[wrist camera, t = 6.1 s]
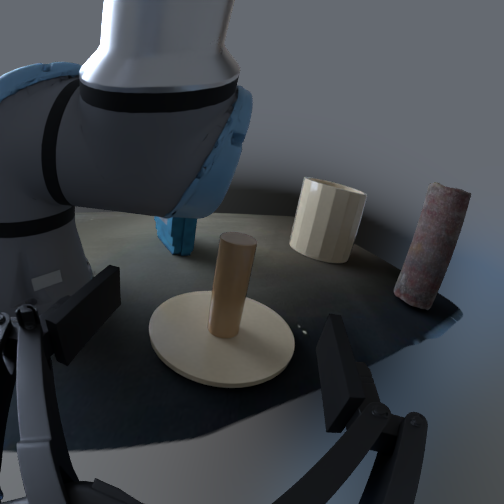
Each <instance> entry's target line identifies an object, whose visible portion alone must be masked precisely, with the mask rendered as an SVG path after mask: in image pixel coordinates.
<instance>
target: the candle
mask: <svg viewBox="0 0 504 504" xmlns="http://www.w3.org/2000/svg"><path fill="white" fill-rule="evenodd" d="M470 197H471V193H468V192H466V191H463V190H461V189H455V188H449V187H445V186H443V185H440V184H439V183H436V182H434V183H432V184H431V183H430V184H429V187H428V190H427V194H426V198H425V201H424V205H423V208H422V211H421V215H420V218H419V222H418V224H417V228H416V231H415V234H414V237H413V240H412V243H411V246H410V248H409V251H408V254H407V257H406V259H405V262H404V264H403V267H402V270H401V272H400V275H399V277H398V280H397V282H396V285H395V287H394V294H395V295H396V297H398V298H400V299H401V300H403V301H404V302H406V303H407V304H409V305H411V306H414V307H417V308H421V309H426V310H429V309H430V307H431V306H432V303H433V301H434V299H435V297H436V295H437V293H438V290H439V288H440V286H441V283H442V281H443V278H444V276H445V273H446V271H447V268H448V265H449V263H450V260H451V257H452V255H453V251H454V249H455V246H456V243H457V240H458V237H459V234H460V231H461V228H462V225H463V222H464V218H465V215H466V211H467V208H468V204H469V200H470Z"/></svg>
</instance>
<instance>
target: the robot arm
mask: <svg viewBox="0 0 504 504" xmlns="http://www.w3.org/2000/svg"><path fill="white" fill-rule="evenodd" d="M234 1H235V0H104V7H103V18H102V30H101V44H100V46H99V48H98V50H97V51H96V52H95V53H94V54H93V55H92V56H91V57H90V58H89V59H88V60H87V62H86V63H85V64H84V65H83V66H82V65H79V64H75V63H68V62H53V63H50V64H42V63H40V64H33V65H28V66H24V67H21V68H18V69H15V70H12V71H10V72H8V73H6V74H4V75H2V76H0V471H1V463H2V453H3V444H4V436H5V429H6V423H7V418H8V412H9V407H10V402H11V398H12V394H13V389H14V385H15V381H16V378H17V408H18V421H19V430H20V442H17V454H18V460H19V466H20V471H21V476H22V480H23V485H24V489H25V493H26V497H22V498H19V499H15V500H11V501H7V502H3V503H1V500H2V499H3V492H2V491H1V488H0V504H143V503H141V502H139V501H138V500H136V499H134V498H133V497H131V496H130V495H128V494H126V493H125V492H124V491H122V490H121V489H119V488H116V487H114V486H112V485H110V484H107V483H105V482H103V481H101V480H99V479H96V478H95V480H94V482H88V481H79V479H78V477H77V475H76V473H75V471H74V469H73V467H72V463H71V460H70V456H69V453H68V449H67V445H66V442H65V438H64V433H63V429H62V424H61V420H60V415H59V409H58V404H57V398H56V391H55V384H54V377H53V368H52V360H51V356H52V355H53V353H54V354H55V357H56V360H57V361H58V362H60V363H62V364H64V365H66V366H68V365H69V364H70V362H71V361H72V360H73V359H74V358H75V356H76V355H77V354H78V353H79V352H80V350H81V349H82V348H83V347H84V346H85V344H86V343H87V342H88V341H89V340H90V339H91V337H92V336H93V335H94V334H95V333H96V332H97V330H98V329H99V328H100V327H101V326H102V325H103V324H104V322H105V321H106V320H107V319H108V318H109V317H110V316H111V315H112V313H113V312H114V311H115V310H116V309H117V308H118V307H119V306H120V305H121V298H120V267H116V266H112V265H109V266H108V267H106V268H105V269H104V270H103V271H101V272H100V273H99V274H98V275H96V276H95V277H94V278H93V275H92V270H91V266H90V264H89V262H88V260H87V258H86V257H85V254H84V251H83V248H82V244H81V241H80V238H79V235H78V232H77V228H76V225H75V206H78V207H87V208H95V209H104V210H112V211H119V212H127V213H135V214H142V215H150V216H157V217H162V218H166V219H168V218H171V217H180V218H196V219H199V218H204V217H207V216H209V215H210V214H212V213H213V212H214V211H215V210H216V209H217V208H218V206H219V205H220V204H221V202H222V200H223V199H224V197H225V195H226V192H227V190H228V188H229V186H230V183H231V181H232V178H233V175H234V173H235V170H236V167H237V165H238V162H239V158H240V155H241V152H242V142H243V141H244V139H245V135H246V133H247V130H248V127H249V123H250V118H251V113H252V95H251V93H250V92H249V91H248V90H245V89H244V88H243V87H242V86H237V82H238V77H239V73H240V67H239V65H238V63H237V62H236V60H235V59H234V58H233V57H232V55H231V54H230V53H229V51H228V50H227V49H226V48H225V45H224V41H225V37H226V33H227V29H228V25H229V21H230V17H231V13H232V9H233V5H234ZM316 354H317V361H318V369H319V376H320V383H321V391H322V399H323V407H324V416H325V424H326V432H332V433H341V432H342V431H343V429H344V428H345V427H346V429H347V431H346V432H345V433H344V435H343V436H342V437H341V438H340V439H339V440H338V441H337V442H336V443H335V445H334V446H333V447H332V448H331V449H330V450H329V451H328V452H327V453H326V454H325V455H324V456H323V457H322V458H321V459H320V460H319V461H318V462H317V463H316V464H315V465H314V466H313V467H312V468H311V469H310V470H309V471H308V472H307V473H306V474H305V475H304V476H303V477H302V478H301V479H300V480H299V481H298V482H297V483H295V484H294V485H293V486H292V487H291V488H290V489H289V490H288V491H286V492H285V493H284V494H283V495H282V496H281V497H279V498H278V499H277V500H276V501H275V502H273V503H272V504H326V502H327V501H328V500H329V499H330V498H331V497H332V496H333V495H334V494H335V493H336V491H337V490H338V489H339V488H340V487H341V485H342V484H343V483H344V482H345V481H346V480H347V478H348V477H349V476H350V475H351V473H352V472H353V471H354V470H355V468H356V467H357V466H358V465H359V463H360V462H361V461H362V459H363V458H364V457H365V455H366V454H367V453H368V451H369V450H373V451H377V452H378V453H377V456H376V459H375V462H374V465H373V468H372V471H371V473H370V476H369V479H368V482H367V484H366V487H365V489H364V492H363V494H362V497H361V499H360V502H359V504H414V500H415V496H416V492H417V488H418V483H419V479H420V474H421V469H422V463H423V457H424V451H425V444H426V436H427V427H428V424H427V421H426V418H425V417H424V416H423V415H421V414H419V413H417V412H411V413H409V414H407V416H406V417H405V418H404V417H400V416H397V415H393V414H391V412H390V410H389V408H388V407H387V406H386V405H385V404H382V403H381V402H380V399H379V396H378V393H377V390H376V387H375V384H374V380H373V378H372V374H371V372H370V369H369V368H368V367H367V365H366V364H365V363H362V362H355V358H354V355H353V352H352V348H351V345H350V342H349V339H348V336H347V332H346V329H345V326H344V323H343V320H342V317H341V315H335V314H329V316H328V318H327V321H326V324H325V326H324V329H323V331H322V334H321V336H320V339H319V341H318V344H317V346H316Z"/></svg>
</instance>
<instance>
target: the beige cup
mask: <svg viewBox="0 0 504 504" xmlns="http://www.w3.org/2000/svg"><path fill="white" fill-rule="evenodd" d="M366 198H367V194H366V193H364V192H362V191H359V190H357V189H354V188H351V187H348V186H344V185H341V184H337V183H334V182H330V181H325V180H321V179H317V178H311V177H304V180H303V185H302V189H301V193H300V198H299V202H298V207H297V211H296V215H295V219H294V224H293V228H292V232H291V236H290V242H289V243H290V246H291V247H292V248H293V249H294V250H296V251H297V252H299V253H301V254H303V255H305V256H307V257H310V258H313V259H316V260H319V261H323V262H329V263H344V262H347V261H348V259H349V257H350V254H351V251H352V248H353V245H354V241H355V238H356V234H357V231H358V227H359V224H360V221H361V217H362V214H363V210H364V206H365V203H366Z"/></svg>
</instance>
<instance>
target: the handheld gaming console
mask: <svg viewBox="0 0 504 504" xmlns="http://www.w3.org/2000/svg"><path fill="white" fill-rule="evenodd" d="M154 220H155V221H156V229H157V230H158V231H157V234H158V238H159V239H160V240H161V241H162V243H163V244H164V245H165V246H166V247H167V248H168V250H169V251H170V252H171V253H172V254H173V255H174V254H180V255H181V256H188V255H191V252H192V251H193V248H194V240H195V232H196V224H197V219H196V218H180V217H171V218H168V219H166V218H162V217H157V216H155V217H154Z"/></svg>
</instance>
